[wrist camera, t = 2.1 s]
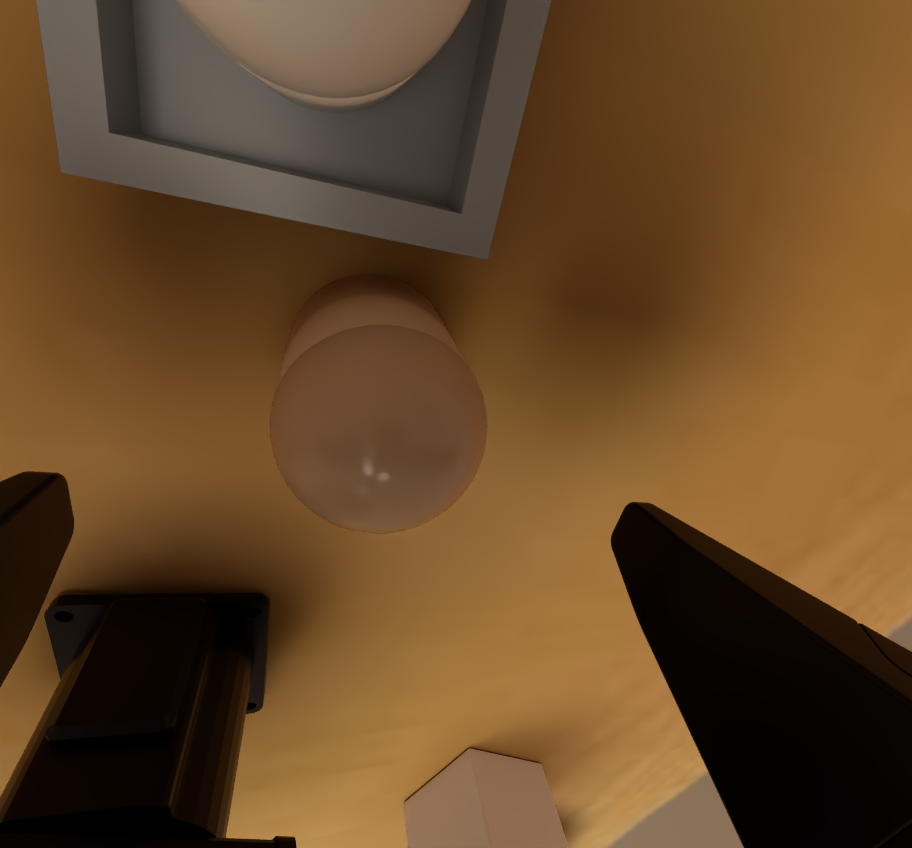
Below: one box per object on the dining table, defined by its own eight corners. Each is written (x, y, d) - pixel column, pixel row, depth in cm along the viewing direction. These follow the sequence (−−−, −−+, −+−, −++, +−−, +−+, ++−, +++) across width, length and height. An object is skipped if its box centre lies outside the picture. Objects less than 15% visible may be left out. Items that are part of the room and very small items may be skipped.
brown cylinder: (431, 428, 15) (481, 581, 10) (284, 415, 14) (250, 582, 8) (463, 290, 13) (547, 390, 8) (294, 259, 12) (257, 354, 6)
